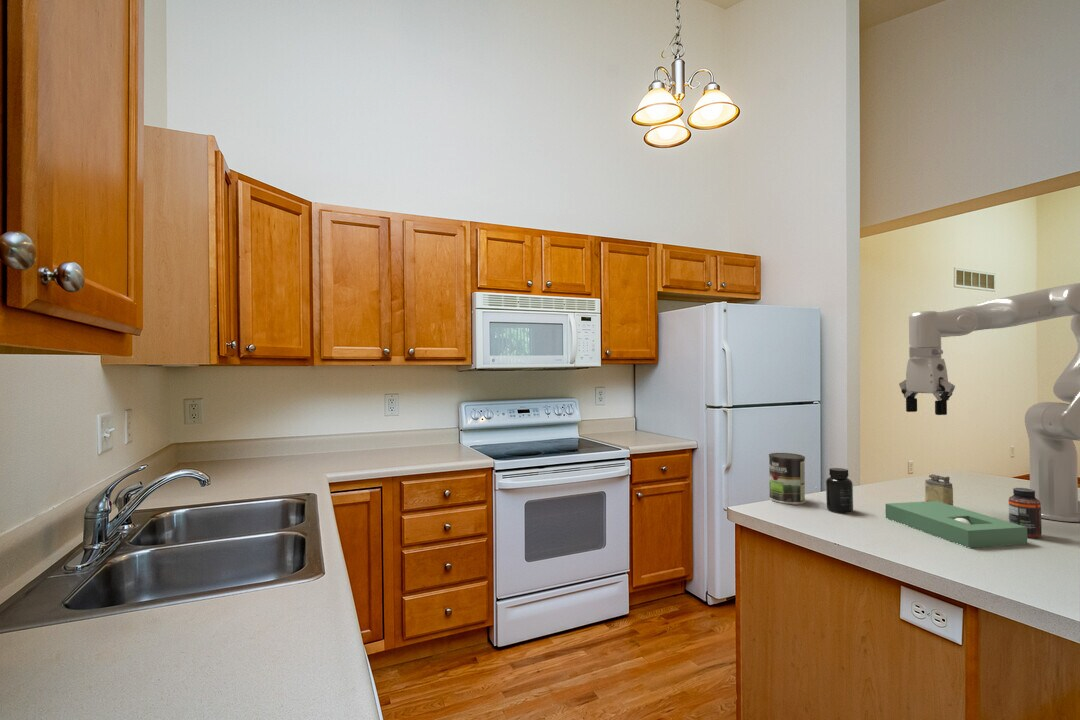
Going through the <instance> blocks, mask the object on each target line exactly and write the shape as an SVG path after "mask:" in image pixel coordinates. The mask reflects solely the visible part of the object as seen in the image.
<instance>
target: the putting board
mask: <svg viewBox="0 0 1080 720" xmlns="http://www.w3.org/2000/svg"><path fill="white" fill-rule="evenodd" d="M887 518H888V519H887ZM956 518H964V519H966V520H968V521H969V522H970V524H971V525H970V524H967V523H964V522H960V521H957V520H954V519H956ZM885 519H887V520H890V519H891V520H890V521H892V520H894V521H893V522H895V521H896V523H898V522H899V523H898V524H901V523H902V524H901V525H903V524H905V526H906V525H908V526H907V527H909V526H911V527H910V528H912V527H914V528H913V529H915V528H916V529H915V530H917V529H919V530H918V531H920V530H922V531H921V532H923V531H924V532H923V533H926V532H927V533H926V534H928V533H930V534H929V535H931V534H932V536H934V535H935V536H934V537H937V536H938V537H937V538H939V537H941V538H940V539H942V538H943V540H945V539H946V540H945V541H948V540H949V541H948V542H950V541H952V542H951V543H953V542H955V543H954V544H956V543H958V544H957V545H959V544H961V545H963V546H962V547H964V546H966V547H965V548H967V547H976V548H987V546H988V547H990V546H991V547H1002V546H1004V547H1005V546H1019V545H1028V537H1027V527H1025V526H1022V525H1018V524H1015V523H1011V522H1009V520H1004V519H1000V518H996V517H994V516H989V515H986V514H983V513H980V512H975V511H973V510H969V509H966V508H962V507H959V506H955V505H953V506H952V505H949V504H945V503H942V502H938V501H926V502H925V501H910V502H889V503H887V502H886V503H885ZM961 545H960V546H961Z"/></svg>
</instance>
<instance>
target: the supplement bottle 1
mask: <svg viewBox="0 0 1080 720" xmlns="http://www.w3.org/2000/svg"><path fill="white" fill-rule="evenodd" d="M828 469H829V476H830V477H828V478H826V479H825V498H826V499H825V501H826V508H827V510H828V511H830V512H833V513H838V514H839V513H840V514H850V513H853V511H854V485H853V481H852V479H850V478H848V477H850V476H849V475H850V474H849V469H848V468H842V467H830V468H828Z"/></svg>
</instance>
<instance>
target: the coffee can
mask: <svg viewBox="0 0 1080 720" xmlns="http://www.w3.org/2000/svg"><path fill="white" fill-rule="evenodd" d="M768 458H769V459H768V460H769V465H768V466H769V467H768V469H769V498H768V499H769V500H770V501H772V502H775V503H778V504H783V505H784V504H785V505H802V504H805V502H806V497H805V496H806V495H805V493H806V492H805V491H806V490H805V483H806V481H805V477H806V476H805V473H806V472H805V468H806V466H805V463H806V462H805V461H806V460H805V459H806V456H804V455H802V454H798V453H790V452H774V453H773V452H771V453H769V454H768Z"/></svg>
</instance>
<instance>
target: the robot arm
mask: <svg viewBox="0 0 1080 720" xmlns="http://www.w3.org/2000/svg"><path fill="white" fill-rule="evenodd" d="M1064 317H1071V319H1070V329H1071V331H1072V333H1073V335H1074V337H1075V339H1076V343H1077V350H1076V353H1075V354H1074V355H1073V358H1072V359H1071V360H1070V362H1069V363H1068V364H1067V366H1066V367H1065V368H1064V370H1063V371H1062V372H1061V374H1060V375H1059V376H1058V377H1057V379H1056V380H1055V382H1054V384H1053V387H1052V388H1053V389H1052V390H1053V391H1052V392H1053V395H1055V397H1056V398H1057V399H1059V400H1061V401H1063V402H1057V401H1043V402H1038V403H1035V404H1033V405H1031V406H1030V407H1029V408H1028V409H1027V410H1026V412H1025V415H1024V426H1025V429H1026V433H1027V438H1028V444H1029V445H1028V446H1029V489H1032V490H1034V491H1035V498H1036V499H1038V500H1039V501H1040V503H1041V519H1045V520H1051V521H1056V522H1057V521H1058V522H1059V521H1060V522H1066V523H1067V522H1069V523H1072V522H1073V523H1080V500H1079V488H1078V487H1079V485H1078V477H1079V476H1078V451H1077V447H1076V445H1075V442H1074V441H1077V442H1078V441H1079V442H1080V282H1079V283H1078V282H1077V283H1076V282H1075V283H1070V284H1065V285H1064V284H1063V285H1059V286H1053V287H1049V288H1045V289H1044V288H1043V289H1039V290H1033V291H1030V292H1024V293H1020V294H1014V295H1009V296H1005V297H1001V298H997V299H992V300H989V301H986V302H983V303H977V304H975V305H969V306H965V307H959V308H955V309H950V310H945V311H944V310H943V311H936V310H925V311H924V310H923V311H922V310H921V311H915V312H912V313H910V314H909V317H908V352H909V353H908V356H909V358H908V359H907V364H906V371H905V379H904V380H903V381H901V382H900V383H899V382H898V386H899V388H900V390H901V393H902V395H903V397H904V399H905V411H906V412H907V413H916V412H918V398H916V396H917V395H918V394H932V395H933V396H934V398H936V400H935V401H934V414H935V415H936V416H947V414H948V401H949V400H950V398H951V396H952V395H953V392H954V391H955V388H956V385H955V384H953V383H951V382H950V381H949V378H948V369H947V365H946V362H945V359H944V358H942V355H943V354H944V351H943V349H942V338H949V337H960V336H961V337H962V336H967V335H969V334H970V333H972V332H975V331H976V332H977V331H984V330H994V329H996V330H997V329H1005V328H1011V327H1018V326H1022V325H1027V324H1028V325H1029V324H1031V323H1037V322H1041V321H1048V320H1053V319H1056V318H1064Z"/></svg>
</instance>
